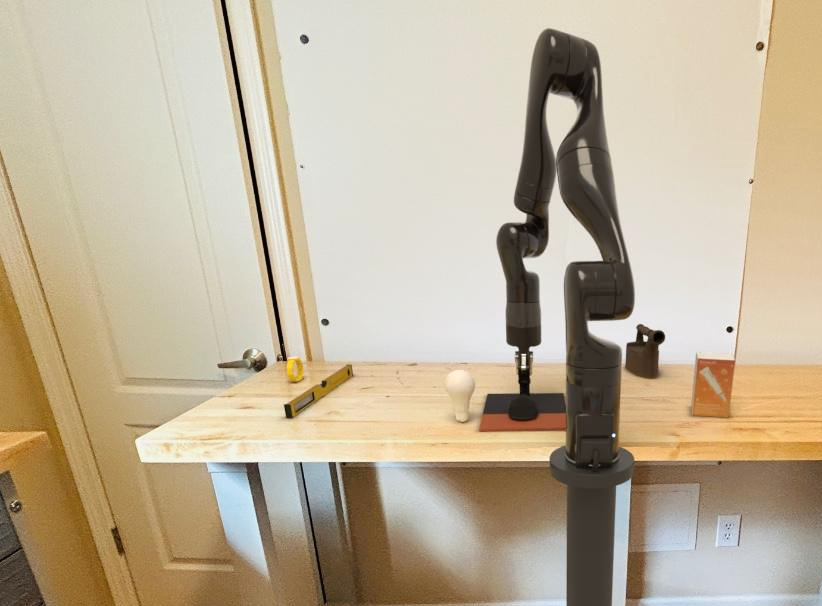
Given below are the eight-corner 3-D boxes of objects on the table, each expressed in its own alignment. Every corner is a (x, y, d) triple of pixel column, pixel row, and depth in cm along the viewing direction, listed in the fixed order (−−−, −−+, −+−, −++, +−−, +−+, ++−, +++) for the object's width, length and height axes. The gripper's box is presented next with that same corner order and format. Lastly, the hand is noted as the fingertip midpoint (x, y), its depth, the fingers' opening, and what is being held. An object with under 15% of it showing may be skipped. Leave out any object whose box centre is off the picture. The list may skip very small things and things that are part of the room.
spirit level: (348, 375, 156) (346, 364, 155) (353, 375, 156) (351, 364, 155) (286, 418, 125) (283, 404, 124) (292, 418, 126) (290, 404, 124)
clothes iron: (640, 382, 157) (642, 330, 152) (624, 366, 171) (625, 319, 166) (669, 381, 159) (672, 330, 154) (650, 365, 173) (653, 318, 168)
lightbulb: (483, 420, 127) (480, 369, 123) (463, 428, 122) (459, 375, 118) (461, 415, 130) (458, 365, 126) (441, 422, 125) (436, 371, 121)
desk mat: (569, 430, 123) (569, 427, 123) (479, 431, 121) (479, 428, 121) (563, 395, 145) (563, 392, 145) (487, 395, 143) (487, 393, 143)
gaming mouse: (538, 400, 139) (538, 383, 137) (538, 422, 125) (537, 403, 124) (510, 400, 138) (510, 383, 137) (507, 422, 124) (506, 403, 123)
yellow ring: (297, 384, 148) (293, 360, 146) (286, 384, 148) (281, 360, 146) (307, 377, 154) (303, 354, 151) (296, 377, 154) (292, 354, 151)
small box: (692, 416, 133) (697, 357, 128) (690, 407, 139) (695, 351, 134) (729, 418, 132) (735, 359, 127) (726, 409, 138) (732, 352, 133)
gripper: (541, 328, 123) (541, 409, 130) (541, 316, 135) (541, 390, 142) (504, 328, 122) (506, 409, 129) (507, 315, 134) (509, 390, 141)
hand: (524, 399), depth 135 cm, fingers closed
